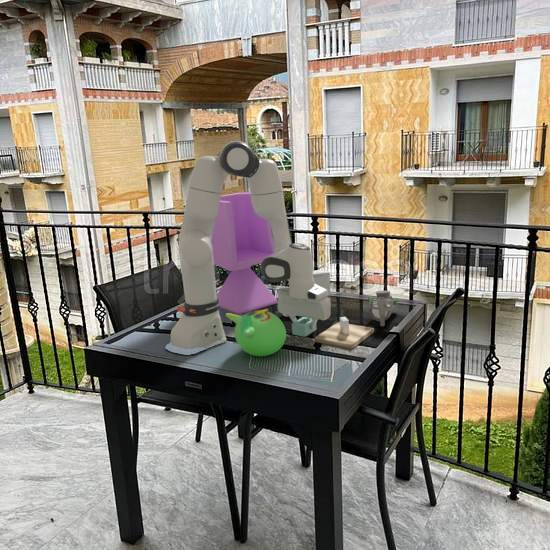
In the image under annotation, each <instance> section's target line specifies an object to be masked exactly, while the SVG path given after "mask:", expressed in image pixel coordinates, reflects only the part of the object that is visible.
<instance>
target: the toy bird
mask: <svg viewBox="0 0 550 550" xmlns="http://www.w3.org/2000/svg"><path fill="white" fill-rule="evenodd" d="M224 315H225V316H226V318H228V319H229V320H231V321H232V322H234V324H235V327H234V338H235V340H236V343H237V344H238V346H239V348H241V349H242V351H244V352H245V353H247V354H249V355H251V356H254V357H266V356H270V355H274V354H275V353H277V352H279V350H280V349H282V347H283V346H284V344H285V343H286V339H287V330H286V327H285V325H284V323H283V321H282V319H280V317H278V316H277V315H276V314H274V313H272V312H270V311H269V308H265V309H264V308H262V309H259V310H254V311H251V312H248V313H244V315H236V314H234V313H231V312H227V313H225V314H224Z"/></svg>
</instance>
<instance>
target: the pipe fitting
mask: <svg viewBox="0 0 550 550" xmlns="http://www.w3.org/2000/svg"><path fill="white" fill-rule="evenodd" d="M375 295H376V299H375V300H374V301H377V300H378V298H381V297H383V298H392V299H395V298H393V296H392V295H391V291H390V290H378V291H375ZM395 301H397V300H396V299H395ZM387 303H388V302H387ZM373 305H374V304H373ZM388 305H389V303H388ZM374 306H378V305H374ZM398 308H399V303H398V302H397V305H395V308H394V309H392V310H391V311H386V314H385V321H386V320H388V319H389V318H390V317H391V315H393V314H395V312H397V310H398ZM368 311H369V312H368V313H369V315H370V317H371V318H372V319H373V320H375V321H376V322H380V314H379V310H376V309H371V308H370V307H369V306H368Z"/></svg>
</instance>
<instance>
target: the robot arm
mask: <svg viewBox="0 0 550 550" xmlns="http://www.w3.org/2000/svg"><path fill="white" fill-rule="evenodd" d="M230 175H232V176H235V177H241V178H242V177H243V178H246V179H247V182H248V186H249V193H250V194H251V202H252V206H253V209H254V211H255V213H256V214H257V215H258V216H259V217H261V218H263V219H265V220H266V221H268V223H269V224H270V226H271V231H272V236H273V239H274V244H275V249H274V252H273V253H272V254H271V255H269V256H268V257H266V258H265V259H264V260H263V261H262V263H260V273H261V275H262V276H263V278H264V279H265V280H266V281H268V282H271V283H278V282H285V281H288V287H280V288H279V289H278V290H277V297H278V298H277V311H278V313H280V314H283V313H284V314H290V316H289V319H290V320H291V321H292V323H294V322H295V321H297V320H298V318H297V317H296V316H298V317H301V316H302V317H307V318H311V319H312V321H313V322H312V323H311V324H310V325H309V327H310V329H312V330H314V329H315V328H317V322H318V320H321V321H325V320H328V319H329V318H330V317H331V313H332V312H331V308H330V302H329V299H328V298H327V297H326V296H327V295H328V291H327V289H325V288H323V287H320V286H319V285H317V284H315V283H314V278H313V271H314V269H315V268H314V260H313V259H314V258H313V253H312V250H311V247H309V246H308V245H306V244H304V243H301V242H300V243H295V242H293V241H292V240H293V239H292V236H291V230H290V225H289V219H288V216H287V210H286V206H285V196H284V189H283V182H282V179H281V174H280V170H279V167H278V164H277V163H276V162H275V161H274V160H272V159H270V158H259V157H258V156H257V154H256V153H255V152H254V151H253V149H252V148H251V146H250V145H249V144H248V143H246V142H245V141H242V140H232V141H229V142H228V143H226V144H225V145H224V146H223V148H222V149H221V151H219V153H217V155H216V156H214V155H213V156H212V155H205V156H201V157H199V158H198V159H197V160H196V161H195V163H194V167H193V170H192V172H191V177H190V180H189V183H188V184H189V185H188V189H187V195H186V202H185V207H184V212H183V216H182V222H181V227H180V232H179V237H178V254H179V261H180V269H181V276H182V283H183V284H182V285H183V293H184V300H185V301H184V302H183V306H181V305H178V306H177V308H176V311H177V312H179V313H182V315H181V316H180V318H179V320H178V321H177V322H176V323H175V325H174V326H173V327H172V329H171V332H170V342H171V345H173V346H176V347H179V348H184V349H194V348H198V347H199V348H201V347H203V348H207V347H210V346H213V345H217V344H220V345H222V344H224V342H225V343H227V342H228V341H227V337H226V336H227V334H226V332H225V330H224V326H223V322H222V318H221V314H220V308H219V300H218V298H217V293H218V292H217V285H216V277H215V276H216V275H215V265H214V259H213V248H212V244H211V239H212V235H213V230H214V226H215V223H216V219H217V216H218V211H219V205H220V200H221V195H222V193H223V190H224V189H223V188H224V184H225V181H226V179H227V178H228V177H229V176H230ZM226 341H227V342H226ZM221 343H222V344H221ZM217 346H218V345H217Z"/></svg>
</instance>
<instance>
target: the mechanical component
mask: <svg viewBox="0 0 550 550" xmlns="http://www.w3.org/2000/svg"><path fill="white" fill-rule="evenodd" d="M392 298H393V297H392ZM392 298H383V297H381V298H378V300H377V299H376V300H377V301H374V297H368V298H367V303H368V305H369V306H368V308H369V307H370V308H371V309H376V310H379V314H380V321H379V323H380V325H379V326H380V327H384V326H385V325H386V320H385V314H386V311H391V310H392V309H394V308H395V305H397V303H398V300H396V298H394V299H392ZM395 300H396V301H395ZM387 302H388V303H389V305H388V303H387ZM373 304H374V305H378V306H374V305H373Z"/></svg>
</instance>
